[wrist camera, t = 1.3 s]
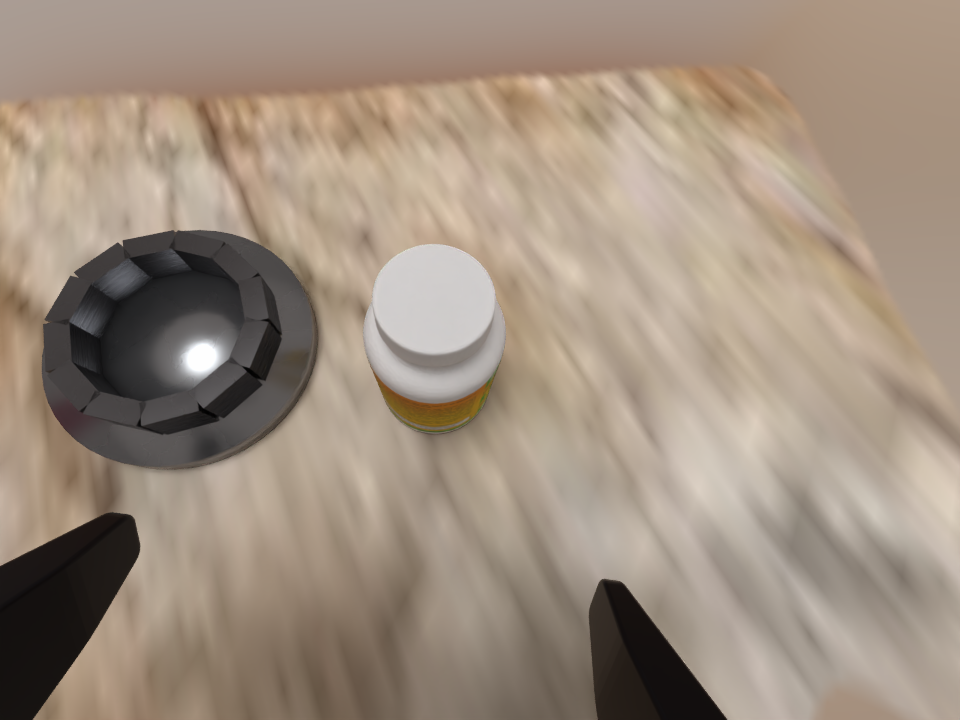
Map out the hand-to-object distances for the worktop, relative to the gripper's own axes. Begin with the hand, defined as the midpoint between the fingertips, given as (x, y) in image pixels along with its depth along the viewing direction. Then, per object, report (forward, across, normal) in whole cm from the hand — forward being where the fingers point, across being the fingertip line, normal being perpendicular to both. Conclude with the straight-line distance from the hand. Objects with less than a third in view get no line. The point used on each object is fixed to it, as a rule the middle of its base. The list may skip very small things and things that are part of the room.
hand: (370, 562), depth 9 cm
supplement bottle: (+15, 0, +4) cm, 15 cm away
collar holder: (+15, +12, +4) cm, 20 cm away
